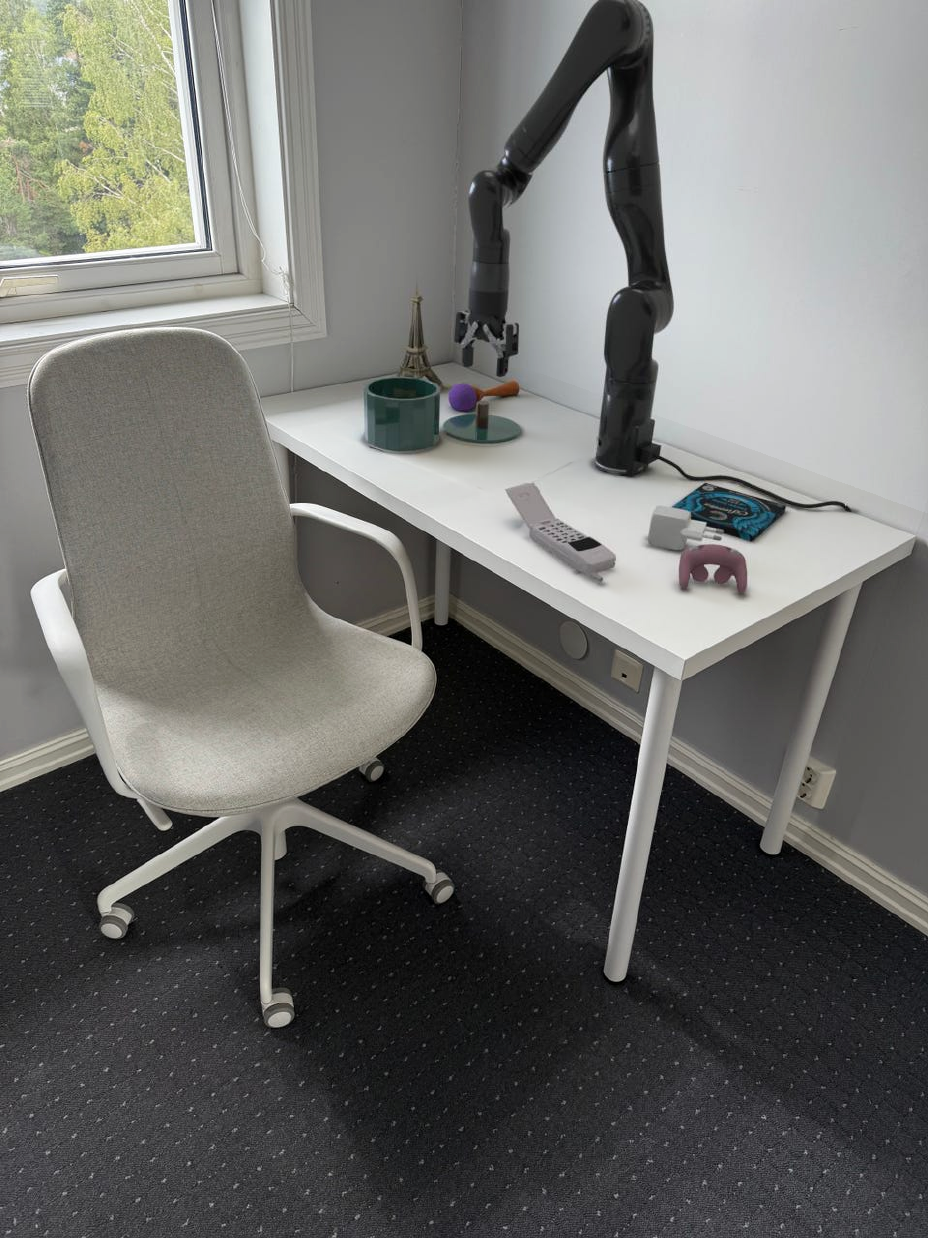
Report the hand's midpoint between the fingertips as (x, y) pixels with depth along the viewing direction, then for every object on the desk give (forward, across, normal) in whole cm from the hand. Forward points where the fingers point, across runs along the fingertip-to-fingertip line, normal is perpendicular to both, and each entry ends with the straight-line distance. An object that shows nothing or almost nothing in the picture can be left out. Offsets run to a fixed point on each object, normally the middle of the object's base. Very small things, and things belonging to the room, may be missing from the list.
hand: (484, 371), depth 180 cm
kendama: (+13, +11, -14) cm, 22 cm away
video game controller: (+12, -65, +25) cm, 71 cm away
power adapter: (+12, -56, +17) cm, 60 cm away
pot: (+13, +8, +15) cm, 21 cm away
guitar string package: (+12, -55, 0) cm, 57 cm away
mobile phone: (+12, -42, +31) cm, 54 cm away
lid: (+12, 0, 0) cm, 12 cm away
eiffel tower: (+13, +28, -10) cm, 32 cm away
